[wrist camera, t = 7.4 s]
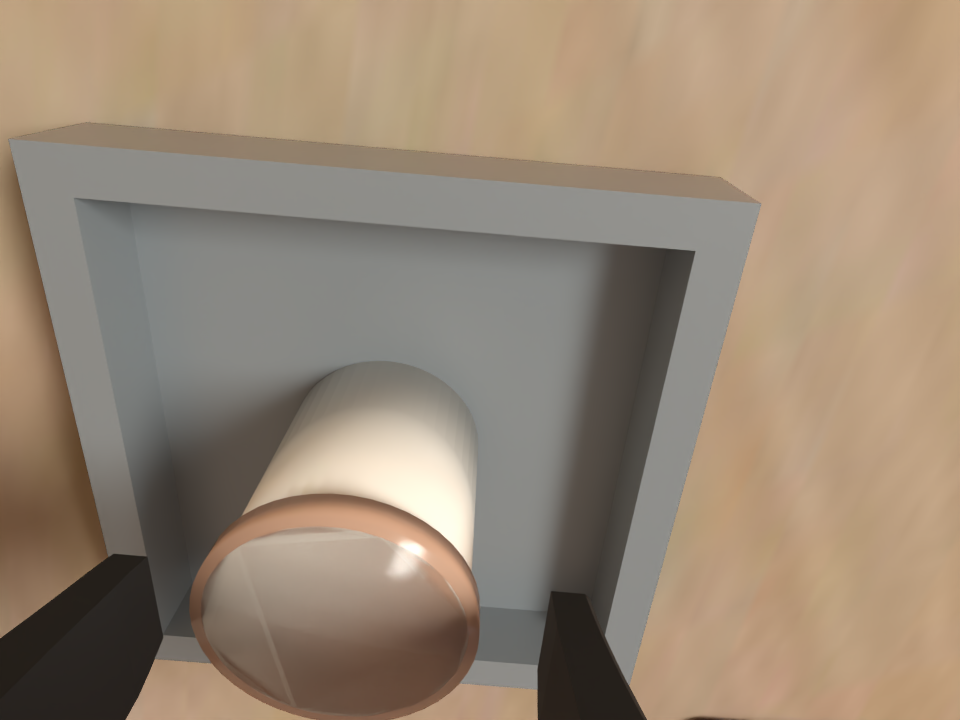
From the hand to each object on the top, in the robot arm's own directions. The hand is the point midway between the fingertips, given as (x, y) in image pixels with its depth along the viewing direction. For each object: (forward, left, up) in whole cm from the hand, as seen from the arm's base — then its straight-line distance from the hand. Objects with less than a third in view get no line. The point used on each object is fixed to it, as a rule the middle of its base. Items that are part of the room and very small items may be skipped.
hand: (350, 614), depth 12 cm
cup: (0, 0, -6) cm, 6 cm away
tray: (0, 0, -7) cm, 7 cm away
